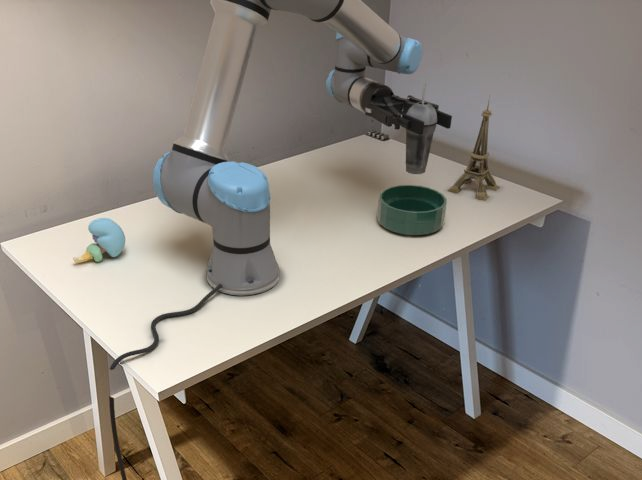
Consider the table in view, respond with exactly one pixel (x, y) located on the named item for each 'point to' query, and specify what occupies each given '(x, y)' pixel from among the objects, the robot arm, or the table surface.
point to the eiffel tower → (482, 170)
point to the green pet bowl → (411, 209)
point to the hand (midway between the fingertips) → (436, 125)
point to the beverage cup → (420, 136)
